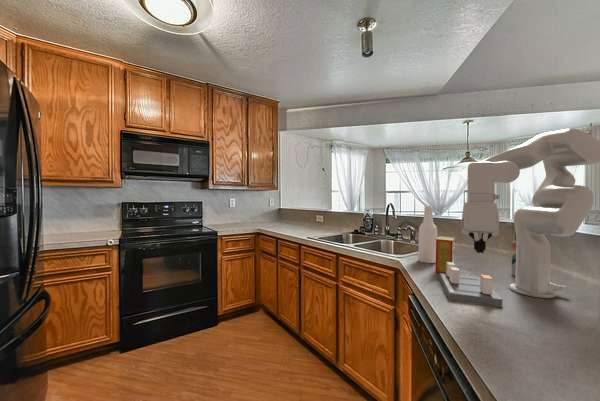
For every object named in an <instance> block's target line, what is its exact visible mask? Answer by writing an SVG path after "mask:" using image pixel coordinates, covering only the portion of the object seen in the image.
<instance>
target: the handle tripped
mask: <svg viewBox="0 0 600 401" xmlns="http://www.w3.org/2000/svg"><path fill="white" fill-rule="evenodd" d="M479 277H480V290H481V291H482V293H483V294H490V295H492V290H494V287H493V284H494V278H492V276H490V275H489V274H480V276H479Z"/></svg>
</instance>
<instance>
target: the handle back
mask: <svg viewBox="0 0 600 401" xmlns="http://www.w3.org/2000/svg"><path fill="white" fill-rule="evenodd" d="M450 267H456V263H455V264H454V263H453V262H447V265H446V274H447V276H448V277H450Z"/></svg>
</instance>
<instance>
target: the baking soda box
mask: <svg viewBox="0 0 600 401" xmlns="http://www.w3.org/2000/svg"><path fill="white" fill-rule="evenodd" d="M455 256H456V237H452V236H451V237H450V236H437V239H436V263H435V273H436V274H440V273H443V274H446V265H447V262H453V263H454V264H455V265H456V263H455V262H456V261H455V260H456V257H455Z"/></svg>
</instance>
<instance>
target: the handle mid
mask: <svg viewBox="0 0 600 401" xmlns="http://www.w3.org/2000/svg"><path fill="white" fill-rule="evenodd" d="M460 272H461V271H460V269H459V268H458V267H456V266H455V267H450V281H451V283H456V284H459V275H461V274H460Z"/></svg>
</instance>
